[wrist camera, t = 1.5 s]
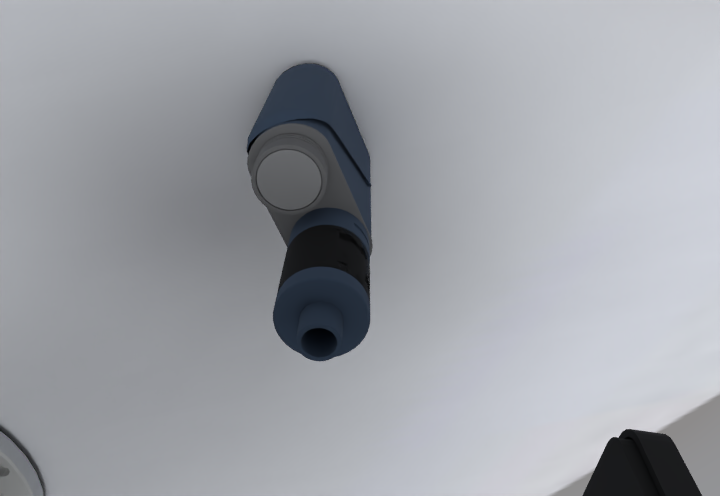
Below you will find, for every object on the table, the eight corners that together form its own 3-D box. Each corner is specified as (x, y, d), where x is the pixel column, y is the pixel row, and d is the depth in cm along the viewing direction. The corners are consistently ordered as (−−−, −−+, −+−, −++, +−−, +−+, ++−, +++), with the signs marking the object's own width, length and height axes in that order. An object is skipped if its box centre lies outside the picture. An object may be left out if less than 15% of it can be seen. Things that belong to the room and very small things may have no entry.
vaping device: (320, 196, 26) (290, 398, 16) (263, 74, 24) (183, 213, 13) (380, 174, 26) (391, 367, 15) (329, 47, 24) (298, 170, 13)
